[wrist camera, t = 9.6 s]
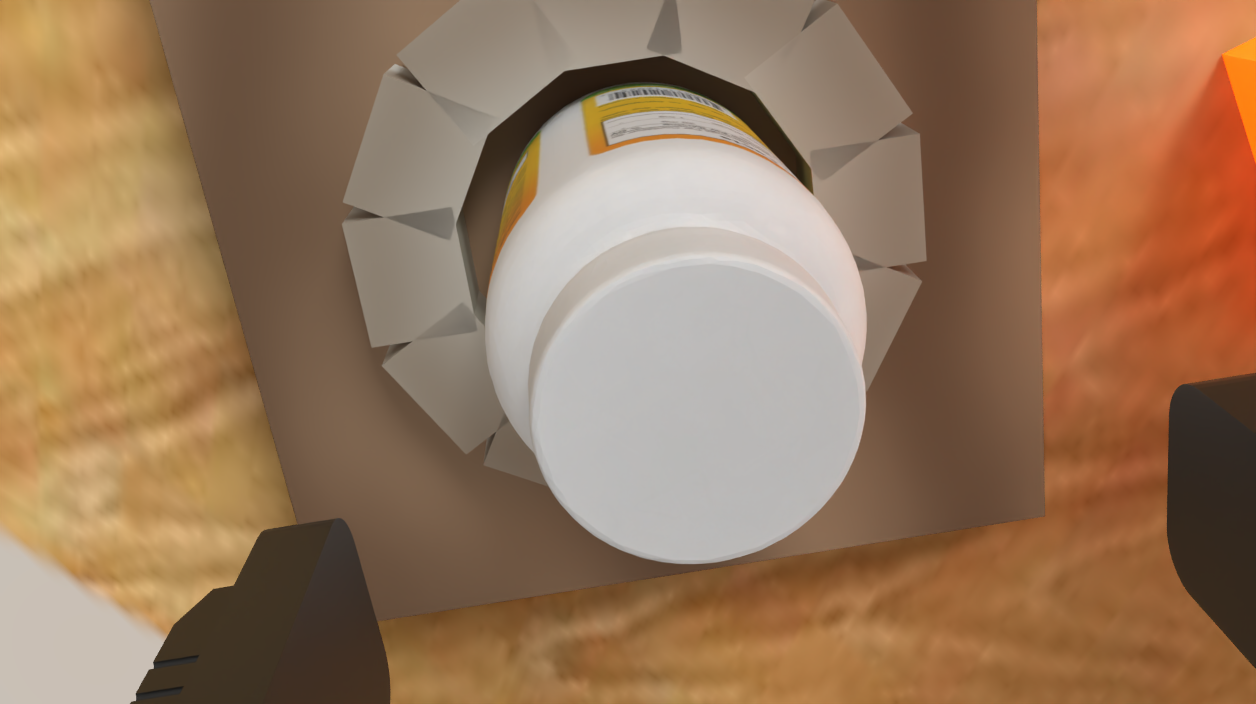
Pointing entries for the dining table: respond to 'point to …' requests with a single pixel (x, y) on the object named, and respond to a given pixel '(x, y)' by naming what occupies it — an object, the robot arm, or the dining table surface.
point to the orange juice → (1244, 85)
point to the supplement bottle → (675, 327)
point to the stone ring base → (469, 228)
